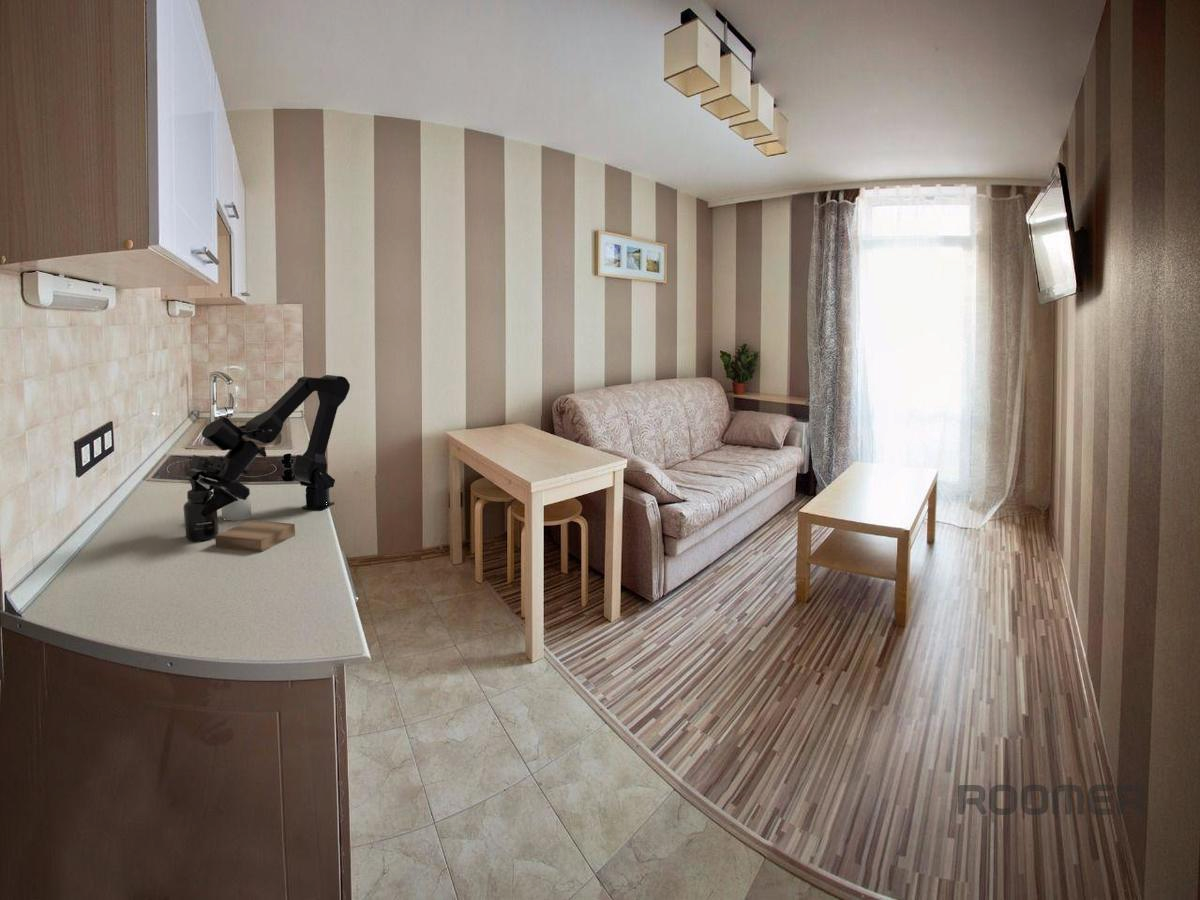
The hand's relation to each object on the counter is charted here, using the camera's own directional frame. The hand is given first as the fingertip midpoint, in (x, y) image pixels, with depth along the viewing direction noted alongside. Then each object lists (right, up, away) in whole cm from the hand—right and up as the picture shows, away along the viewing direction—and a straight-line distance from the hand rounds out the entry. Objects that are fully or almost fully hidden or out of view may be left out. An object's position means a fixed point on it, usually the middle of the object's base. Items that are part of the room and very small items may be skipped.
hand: (194, 513), depth 144 cm
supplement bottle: (0, -6, +3) cm, 7 cm away
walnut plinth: (+14, -7, +1) cm, 16 cm away
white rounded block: (-1, -3, +19) cm, 19 cm away
